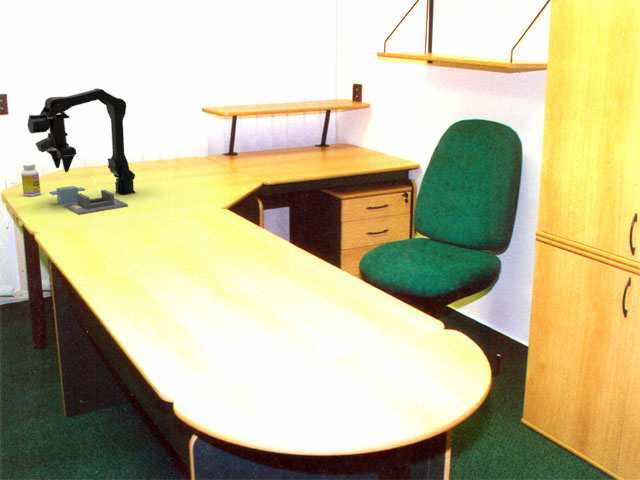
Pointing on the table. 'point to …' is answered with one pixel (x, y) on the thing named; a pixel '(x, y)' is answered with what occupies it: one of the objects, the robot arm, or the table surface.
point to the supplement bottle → (30, 180)
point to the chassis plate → (95, 203)
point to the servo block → (67, 194)
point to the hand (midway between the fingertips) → (62, 170)
